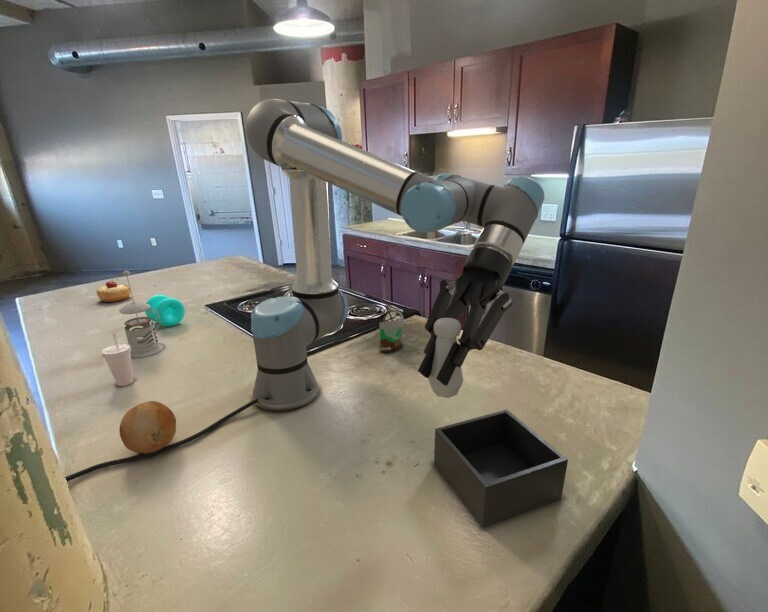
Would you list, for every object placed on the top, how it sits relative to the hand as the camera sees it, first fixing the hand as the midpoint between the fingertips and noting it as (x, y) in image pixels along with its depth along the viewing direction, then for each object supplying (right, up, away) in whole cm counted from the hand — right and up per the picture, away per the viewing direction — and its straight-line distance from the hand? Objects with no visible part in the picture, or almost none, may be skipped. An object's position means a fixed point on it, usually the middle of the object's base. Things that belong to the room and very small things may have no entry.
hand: (432, 378), depth 67 cm
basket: (+12, -19, +7) cm, 23 cm away
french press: (-80, 0, +61) cm, 101 cm away
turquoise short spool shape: (-85, +8, +82) cm, 118 cm away
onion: (-54, -17, +17) cm, 59 cm away
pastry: (-122, +18, +110) cm, 165 cm away
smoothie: (-75, -7, +42) cm, 87 cm away
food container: (-5, +1, +60) cm, 60 cm away
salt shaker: (+3, -3, +4) cm, 6 cm away
